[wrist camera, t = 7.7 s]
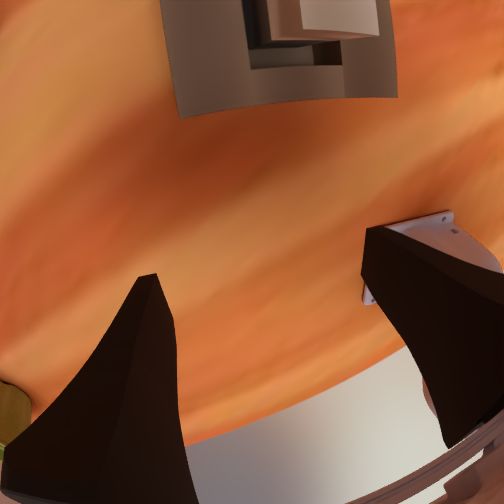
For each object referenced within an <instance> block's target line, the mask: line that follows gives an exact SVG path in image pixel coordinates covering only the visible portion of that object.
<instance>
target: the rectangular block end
mask: <svg viewBox="0 0 504 504" xmlns="http://www.w3.org/2000/svg"><path fill="white" fill-rule="evenodd" d="M242 4H243V12H244V20H245V28H246V36H247V45H248V50H254V49H270V48H298V47H303V46H308V45H314V44H319V43H325V42H331V41H338V40H345V39H353V38H362V37H372V36H379V27H378V18H377V9H376V2H375V0H242Z"/></svg>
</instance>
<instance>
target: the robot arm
mask: <svg viewBox="0 0 504 504" xmlns="http://www.w3.org/2000/svg"><path fill="white" fill-rule="evenodd" d="M453 219H454V213H453V212H452V211H446V212H442V213H438V214H434V215H430V216H426V217H422V218H418V219H413V220H409V221H405V222H401V223H397V224H393V225H389V226H385V227H384V226H375V227H371V228H366V236H365V245H364V253H363V261H362V269H361V276H362V278H363V280H364V282H365V290H364V296H363V303H364V305H366V306H367V305H371V304H374V303H376V302H377V304H378V305H379V306H380V308H381V309H382V311H383V312H384V313H385V315H386V316H387V318H388V319H389V320H390V322H391V323H392V325H393V326H394V327H395V329H396V330H397V332H398V333H399V334H400V336H401V337H402V339H403V340H404V342H405V343H406V345H407V347H408V348H409V350H410V352H411V354H412V356H413V358H414V360H415V362H416V364H417V366H418V368H419V370H420V372H421V374H422V377H423V378H422V379H423V380H422V381H423V393H424V396H425V399H426V401H427V404H428V406H429V407H430V409H431V411H432V412H433V413H434V415H435V416H436V417H437V418H438V421H439V424H440V428H441V432H442V437H443V441H444V443H445V445H446V446H447V448H448V449H450V448H452V447H453V446H455V445H456V444H458V443H459V442H460V441H462V440H463V439H465V438H466V439H465V440H464V441H462V442H461V443H460V444H458V445H457V446H455V447H454V448H453V449H451V450H450V451H448V452H447V453H445V454H443V455H442V456H440V457H438V458H437V459H435V460H433V461H432V462H430V463H428V464H427V465H425V466H423V467H422V468H420V469H418V470H416V471H415V472H413V473H411V474H409V475H407V476H405V477H403V478H402V479H400V480H398V481H396V482H394V483H392V484H390V485H388V486H386V487H383V488H381V489H379V490H377V491H375V492H372V493H370V494H368V495H366V496H363V497H361V498H359V499H356V500H353V501H351V502H348V503H346V504H398V503H400V502H402V501H404V500H406V499H408V498H410V497H412V496H413V495H415V494H417V493H419V492H420V491H422V490H424V489H426V488H427V487H429V486H431V485H432V484H434V483H435V482H437V481H439V480H440V479H441V478H443V477H445V476H446V475H448V474H449V473H451V472H452V471H454V470H455V469H457V468H458V467H459V466H461V465H462V464H464V463H465V462H466V461H468V460H469V459H470V458H472V457H473V456H474V455H476V454H477V453H478V452H480V450H482V449H483V448H484V450H483V456H482V457H481V458H480V459H478V460H477V461H475V462H474V463H473V464H471V465H470V466H468V467H467V468H465V469H464V470H462V471H461V472H459V473H458V474H457V475H455V476H454V477H453V478H451V479H450V480H449V481H447V482H446V483H445V484H444V489H445V491H446V494H444V495H443V496H441V497H439V498H438V499H436V500H434V501H433V502H431V503H429V504H504V274H503V271H502V268H501V266H500V264H499V262H498V260H497V259H496V257H495V256H494V255H493V254H492V253H491V252H490V251H489V250H488V249H486V248H485V247H484V246H483V245H482V244H480V243H479V242H478V241H477V240H475V239H474V238H473V237H472V236H470V235H469V234H468V233H467V232H465V231H464V230H463V229H461V228H460V227H459V226H457V225H456V224H455V223H453ZM0 490H1V491H2V493H3V494H4V495H5V496H7V497H9V498H11V499H13V500H15V501H17V502H19V503H21V504H199V502H198V499H197V496H196V492H195V489H194V485H193V481H192V478H191V474H190V470H189V466H188V461H187V457H186V452H185V447H184V442H183V437H182V431H181V425H180V419H179V411H178V394H177V344H176V336H175V328H174V320H173V316H172V314H171V311H170V309H169V306H168V303H167V301H166V298H165V296H164V293H163V290H162V288H161V285H160V282H159V279H158V277H157V274H156V273H154V274H150V275H145V276H140V277H138V278H137V280H136V282H135V283H134V285H133V287H132V288H131V290H130V292H129V294H128V295H127V297H126V299H125V301H124V302H123V304H122V306H121V308H120V309H119V311H118V313H117V315H116V316H115V318H114V320H113V321H112V323H111V325H110V326H109V328H108V330H107V331H106V333H105V334H104V336H103V338H102V339H101V341H100V342H99V344H98V346H97V347H96V349H95V350H94V351H93V353H92V354H91V356H90V357H89V359H88V360H87V361H86V363H85V364H84V365H83V367H82V368H81V369H80V371H79V372H78V373H77V375H76V376H75V377H74V378H73V380H72V381H71V382H70V383H69V384H68V385H67V387H66V388H65V389H64V390H63V391H62V393H61V394H60V395H59V396H58V397H57V398H56V400H55V401H54V402H53V403H52V404H51V405H50V406H49V407H48V408H47V409H46V410H45V411H44V412H43V413H42V414H41V415H40V416H39V417H38V418H37V419H36V420H35V421H34V422H33V423H32V424H31V425H30V426H29V427H28V428H27V429H25V430H24V431H23V432H22V433H21V434H20V435H18V436H17V437H16V438H15V439H14V440H13V441H11V442H10V443H9V444H8V445H7V446H5V447H4V454H3V462H2V471H1V484H0Z"/></svg>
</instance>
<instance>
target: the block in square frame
mask: <svg viewBox="0 0 504 504" xmlns="http://www.w3.org/2000/svg"><path fill="white" fill-rule="evenodd" d="M375 2H376V9H377V18H378V27H379V36H372V37H362V38H353V39H345V40H338V41H331V42H325V43H319V44H314V45H308V46H303V47H298V48H270V49H254V50H248V45H247V36H246V28H245V20H244V12H243V4H242V0H160V6H161V13H162V20H163V26H164V33H165V39H166V46H167V52H168V58H169V64H170V69H171V75H172V81H173V86H174V92H175V97H176V103H177V108H178V113H179V118H180V119H184V118H188V117H193V116H198V115H203V114H208V113H213V112H219V111H224V110H230V109H236V108H242V107H249V106H256V105H264V104H272V103H281V102H290V101H301V100H314V99H331V98H363V97H381V98H398V93H397V69H396V54H395V42H394V33H393V24H392V16H391V9H390V2H389V0H375Z"/></svg>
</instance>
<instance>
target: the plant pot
mask: <svg viewBox="0 0 504 504" xmlns="http://www.w3.org/2000/svg"><path fill="white" fill-rule="evenodd" d="M31 411H32V405H31V402H30V399H29V397H28V396H27V395H26V394H25V393H24V392H22V391H21V390H20V389H18V388H17V387H15V386H13V385H6V384H4V383H3V382H2V381H0V461H1V462H3V454H4V447H5V446H7V445H8V444H9V443H10V442H11V441H13V440H14V439H15V438H16V437H17V436H18V435H20V434H21V433H22V432H23V431H24V430H25V429H27V428H28V427H29V426H30V425H31Z"/></svg>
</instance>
